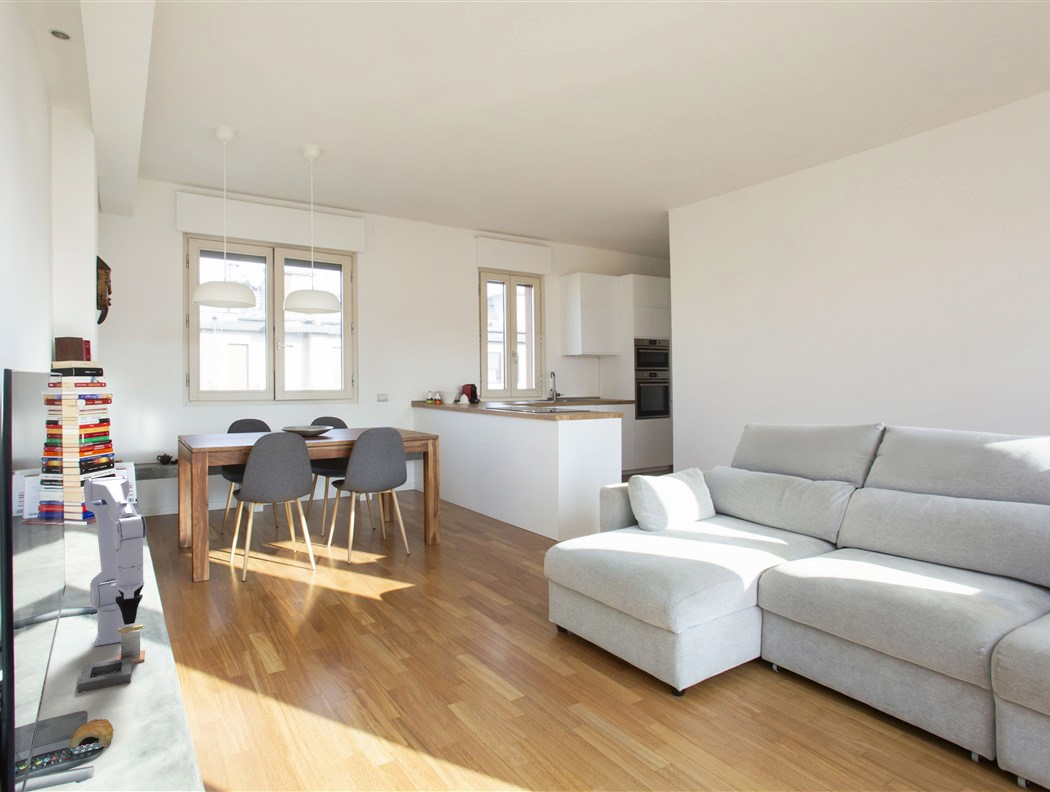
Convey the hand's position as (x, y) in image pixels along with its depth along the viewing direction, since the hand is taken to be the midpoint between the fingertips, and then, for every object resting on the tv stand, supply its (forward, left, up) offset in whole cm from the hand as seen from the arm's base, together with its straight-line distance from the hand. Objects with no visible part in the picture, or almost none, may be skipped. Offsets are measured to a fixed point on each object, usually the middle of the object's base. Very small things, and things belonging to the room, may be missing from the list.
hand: (130, 618), depth 157 cm
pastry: (+38, -5, -11) cm, 40 cm away
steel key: (0, 0, -10) cm, 10 cm away
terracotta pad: (0, 0, -10) cm, 10 cm away
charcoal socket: (+9, -4, -10) cm, 14 cm away
